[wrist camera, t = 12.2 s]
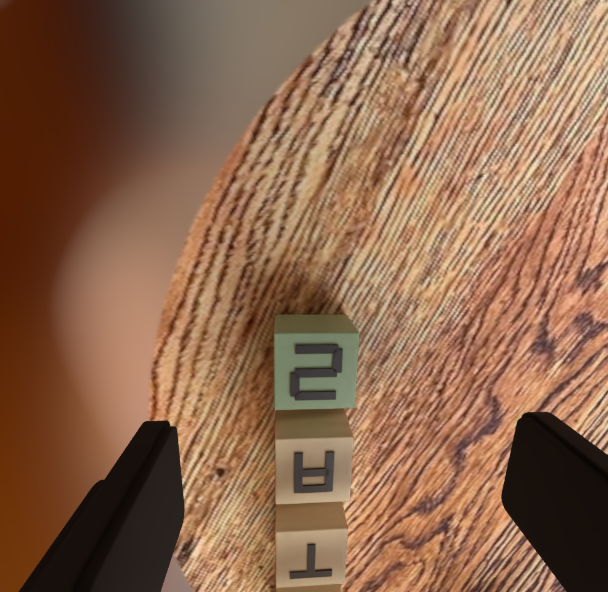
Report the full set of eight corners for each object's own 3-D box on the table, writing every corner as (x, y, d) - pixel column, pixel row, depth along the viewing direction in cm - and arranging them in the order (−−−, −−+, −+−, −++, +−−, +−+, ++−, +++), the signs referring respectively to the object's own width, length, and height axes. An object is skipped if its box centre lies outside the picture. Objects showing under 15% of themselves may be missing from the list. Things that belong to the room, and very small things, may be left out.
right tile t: (276, 487, 20) (275, 534, 17) (338, 484, 20) (348, 530, 17) (276, 537, 21) (275, 590, 18) (336, 534, 21) (345, 586, 18)
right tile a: (275, 405, 19) (274, 440, 16) (342, 403, 19) (354, 438, 16) (276, 462, 20) (275, 506, 17) (339, 460, 20) (350, 503, 17)
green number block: (275, 314, 17) (273, 333, 14) (346, 313, 18) (360, 333, 15) (275, 380, 18) (273, 411, 15) (343, 379, 19) (355, 409, 16)
